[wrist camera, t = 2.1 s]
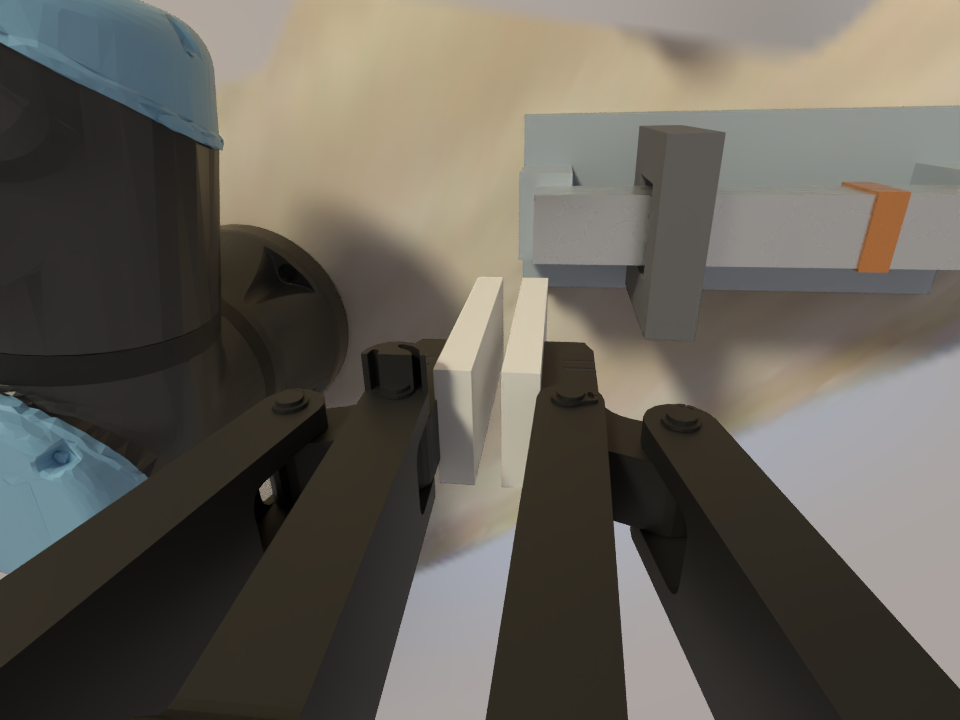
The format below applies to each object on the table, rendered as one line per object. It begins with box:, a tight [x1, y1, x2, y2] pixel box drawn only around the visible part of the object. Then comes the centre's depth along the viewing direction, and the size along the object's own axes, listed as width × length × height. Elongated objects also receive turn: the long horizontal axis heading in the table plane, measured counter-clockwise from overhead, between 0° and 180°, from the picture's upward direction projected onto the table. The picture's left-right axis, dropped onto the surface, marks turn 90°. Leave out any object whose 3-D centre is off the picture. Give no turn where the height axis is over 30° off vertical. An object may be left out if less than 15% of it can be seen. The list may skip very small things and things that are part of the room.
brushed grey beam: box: [533, 182, 960, 273], centre depth 29 cm, size 24×4×4 cm, turn 91°
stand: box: [519, 106, 960, 294], centre depth 33 cm, size 26×11×5 cm, turn 91°
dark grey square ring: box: [625, 125, 726, 341], centre depth 30 cm, size 2×10×10 cm, turn 1°
